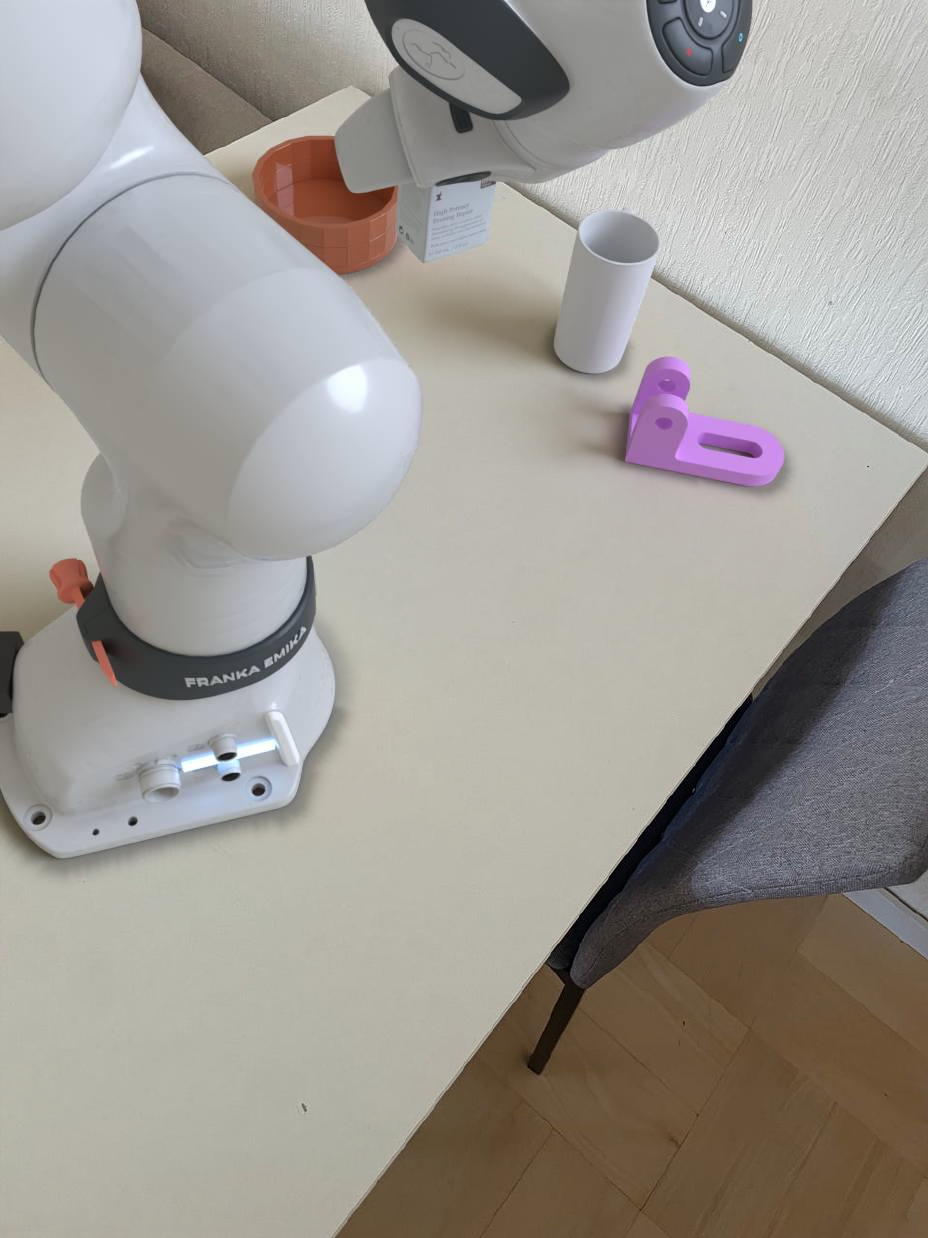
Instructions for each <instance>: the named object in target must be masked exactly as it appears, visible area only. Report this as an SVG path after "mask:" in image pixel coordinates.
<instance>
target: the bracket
mask: <svg viewBox="0 0 928 1238" xmlns="http://www.w3.org/2000/svg"><path fill="white" fill-rule="evenodd" d="M691 377H692V371H691V368H690V366H689V365H688V363H686V361H684V360H682V359H681V358H678V357H675V356H661V357H657V358H655V359H653V360H651V361H650V362H649V363H648V364H647V366H646V367H645V369H644V372H643V375H642V378H641V380H640V382H639V383H640V384H639V386H638V389H637V391H636V394H635V398H634V400H633V403H632V405H631V409H630V411H629V416H628V425H627V426H628V427H627V436H626V446H625V457H624V462H625V463H630V464H635V465H640V466H646V467H650V468H656V469H660V470H665V471H669V472H670V471H671V472H674V473H675V472H676V473H680V474H685V475H690V476H696V477H701V478H706V479H710V480H715V481H721V482H726V483H729V484H730V483H731V484H734V485H735V484H736V485H740V486H745V487H761V486H765V485H768V484H769V483H771V482H772V481H773V480H774V479H775V478H776V477H777V475H778V474H779V471H780V470H781V468H782V466H783V464H784V462H785V451H784V448H783V446H782V444H781V442H780V440H779V439H778V438H777V437H776V436H775V435H773V434H772V433H771V432H770V431H768V430H766V429H764V428H762V427H760V426H756V425H753V424H748V423H743V422H739V421H732V420H727V419H722V418H718V417H712V416H709V415H702V414H697V413H692V412H689V410H690V409H689V406H688V404H687V402H686V399H687V397H688V394H689V392H690V389H691V380H692V379H691ZM702 445H706V446H712V447H716V448H717V447H718V448H722V449H727V450H732V451H737V452H742V453H747V454H750V455H751V456H752V457H749V456H745V455H739V454H738V455H737V454H734V453H729V452H724V451H718V450H714V449H708V448H706V447H703V446H702Z"/></svg>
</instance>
